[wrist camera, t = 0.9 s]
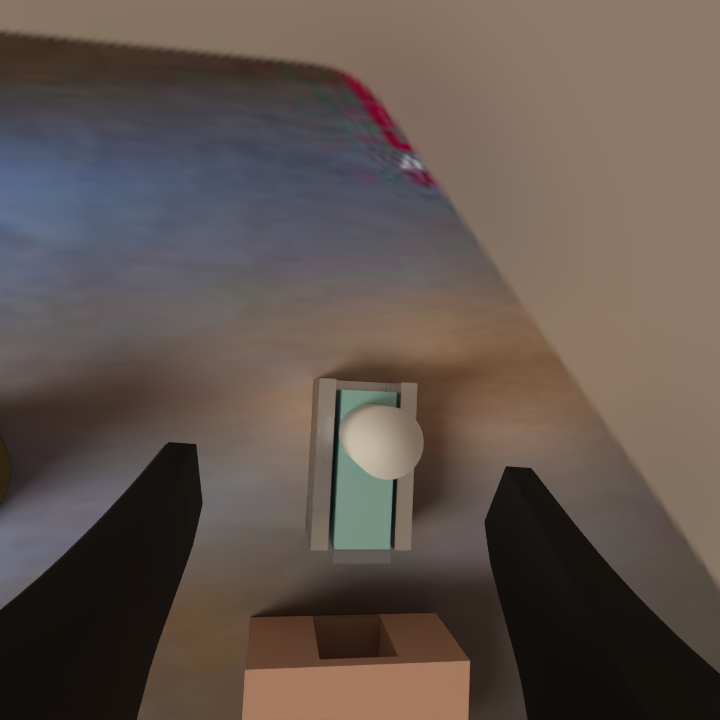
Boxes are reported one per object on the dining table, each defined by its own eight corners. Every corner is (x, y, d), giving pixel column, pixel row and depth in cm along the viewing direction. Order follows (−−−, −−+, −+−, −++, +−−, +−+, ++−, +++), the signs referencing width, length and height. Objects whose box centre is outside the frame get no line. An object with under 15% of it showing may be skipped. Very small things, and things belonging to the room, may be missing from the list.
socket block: (431, 726, 27) (465, 799, 23) (243, 738, 26) (235, 820, 21) (435, 612, 28) (470, 660, 23) (250, 617, 26) (245, 669, 21)
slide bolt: (378, 543, 27) (417, 601, 19) (325, 543, 26) (345, 603, 19) (385, 392, 27) (425, 393, 20) (333, 389, 27) (355, 389, 19)
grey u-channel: (393, 529, 28) (410, 550, 24) (305, 529, 27) (310, 550, 23) (399, 383, 28) (417, 383, 25) (313, 379, 27) (319, 377, 24)
